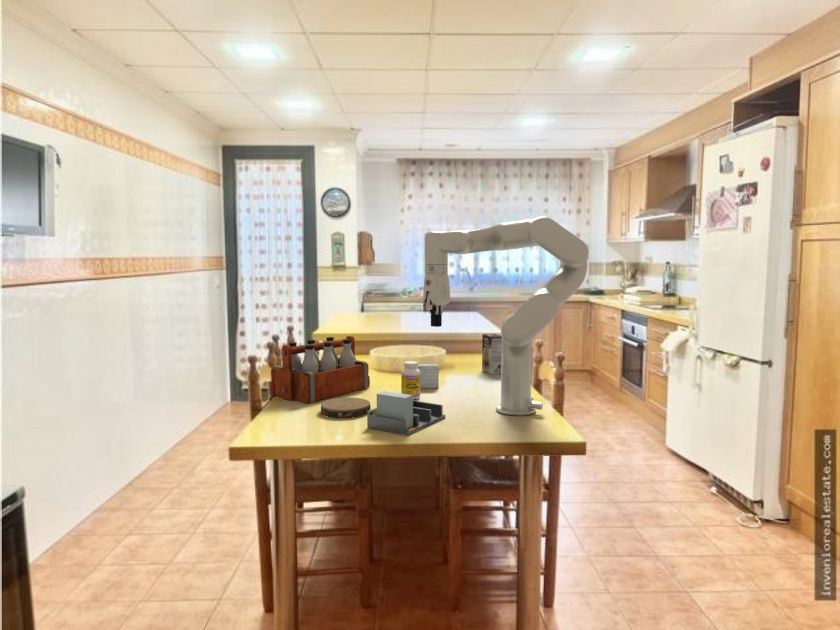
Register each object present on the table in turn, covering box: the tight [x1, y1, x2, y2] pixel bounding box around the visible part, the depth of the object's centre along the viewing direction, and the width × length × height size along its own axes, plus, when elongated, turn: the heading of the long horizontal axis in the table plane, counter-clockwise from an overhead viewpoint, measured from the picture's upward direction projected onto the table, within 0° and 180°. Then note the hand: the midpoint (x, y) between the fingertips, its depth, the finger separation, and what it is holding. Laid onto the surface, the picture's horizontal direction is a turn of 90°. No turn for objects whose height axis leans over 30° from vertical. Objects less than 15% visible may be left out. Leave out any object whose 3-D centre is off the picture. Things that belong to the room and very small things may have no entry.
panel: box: [376, 390, 413, 429], centre depth 169 cm, size 10×4×9 cm, turn 58°
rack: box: [366, 400, 446, 437], centre depth 174 cm, size 14×21×5 cm, turn 147°
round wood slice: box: [320, 397, 371, 419], centre depth 187 cm, size 16×16×3 cm
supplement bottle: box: [400, 360, 421, 400], centre depth 204 cm, size 7×7×13 cm
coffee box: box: [481, 333, 502, 375], centre depth 251 cm, size 9×6×16 cm
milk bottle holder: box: [269, 335, 371, 404], centre depth 215 cm, size 21×35×19 cm, turn 141°
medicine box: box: [417, 363, 440, 389], centre depth 222 cm, size 8×4×9 cm, turn 92°
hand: (436, 326), depth 190 cm, fingers closed
